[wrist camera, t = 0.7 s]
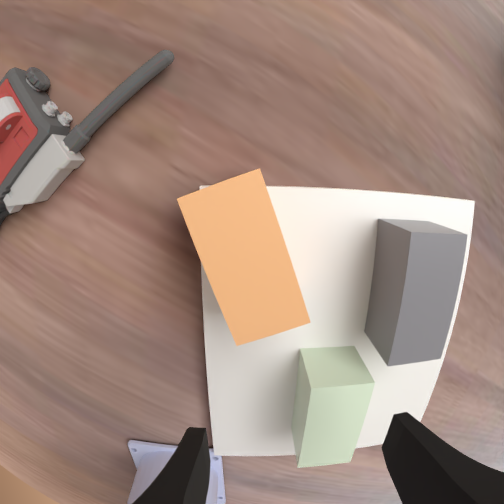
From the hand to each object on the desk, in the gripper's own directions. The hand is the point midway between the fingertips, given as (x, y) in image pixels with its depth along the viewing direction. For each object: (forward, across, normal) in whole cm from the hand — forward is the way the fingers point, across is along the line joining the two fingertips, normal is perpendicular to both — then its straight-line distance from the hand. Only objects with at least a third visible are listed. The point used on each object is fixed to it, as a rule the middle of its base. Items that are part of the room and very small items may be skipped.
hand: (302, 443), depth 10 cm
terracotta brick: (+8, +2, -6) cm, 10 cm away
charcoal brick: (+8, -7, -4) cm, 12 cm away
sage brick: (+8, -3, +4) cm, 10 cm away
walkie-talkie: (+10, +16, -13) cm, 23 cm away
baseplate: (+10, -4, +1) cm, 10 cm away
